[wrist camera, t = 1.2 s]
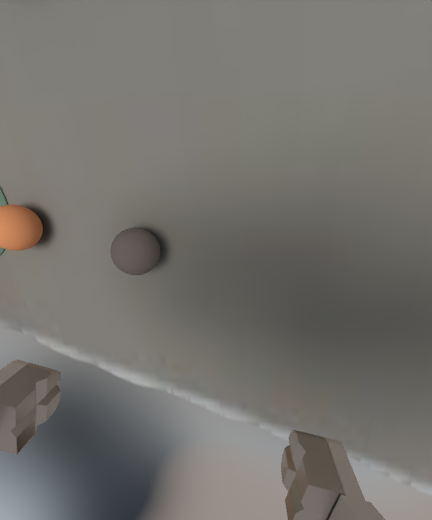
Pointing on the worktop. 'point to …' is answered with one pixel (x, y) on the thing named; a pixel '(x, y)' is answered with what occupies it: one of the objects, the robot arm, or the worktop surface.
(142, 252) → the dark gray ball
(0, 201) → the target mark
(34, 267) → the worktop surface
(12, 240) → the object ball
